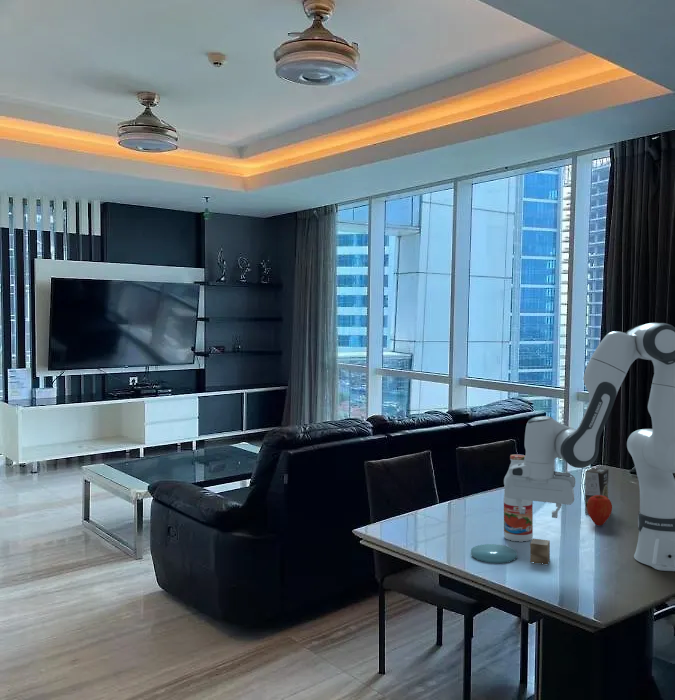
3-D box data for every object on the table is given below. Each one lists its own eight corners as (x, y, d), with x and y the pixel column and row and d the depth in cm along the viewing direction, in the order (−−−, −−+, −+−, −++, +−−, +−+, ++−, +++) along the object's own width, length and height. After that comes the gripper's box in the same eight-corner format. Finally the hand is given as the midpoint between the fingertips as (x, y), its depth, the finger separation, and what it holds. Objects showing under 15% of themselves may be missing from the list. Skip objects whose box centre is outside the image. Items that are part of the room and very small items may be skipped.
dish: (520, 551, 217) (520, 547, 217) (512, 565, 204) (512, 561, 204) (476, 545, 222) (476, 542, 222) (466, 559, 210) (466, 555, 210)
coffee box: (602, 516, 253) (602, 473, 252) (584, 513, 257) (584, 471, 256) (609, 510, 260) (609, 468, 260) (592, 508, 264) (591, 467, 264)
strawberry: (614, 529, 237) (614, 498, 237) (588, 528, 239) (588, 497, 239) (609, 522, 246) (609, 492, 245) (585, 521, 247) (585, 491, 247)
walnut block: (549, 559, 209) (549, 540, 208) (547, 565, 204) (547, 545, 204) (532, 557, 211) (532, 538, 210) (530, 563, 206) (530, 543, 206)
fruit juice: (534, 535, 232) (534, 453, 231) (530, 543, 223) (529, 459, 222) (506, 532, 236) (506, 452, 235) (501, 540, 227) (500, 457, 226)
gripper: (576, 471, 205) (575, 517, 205) (507, 465, 213) (506, 509, 214) (574, 475, 199) (573, 522, 200) (503, 469, 208) (502, 514, 208)
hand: (538, 515), depth 207 cm, fingers open, 8 cm apart
